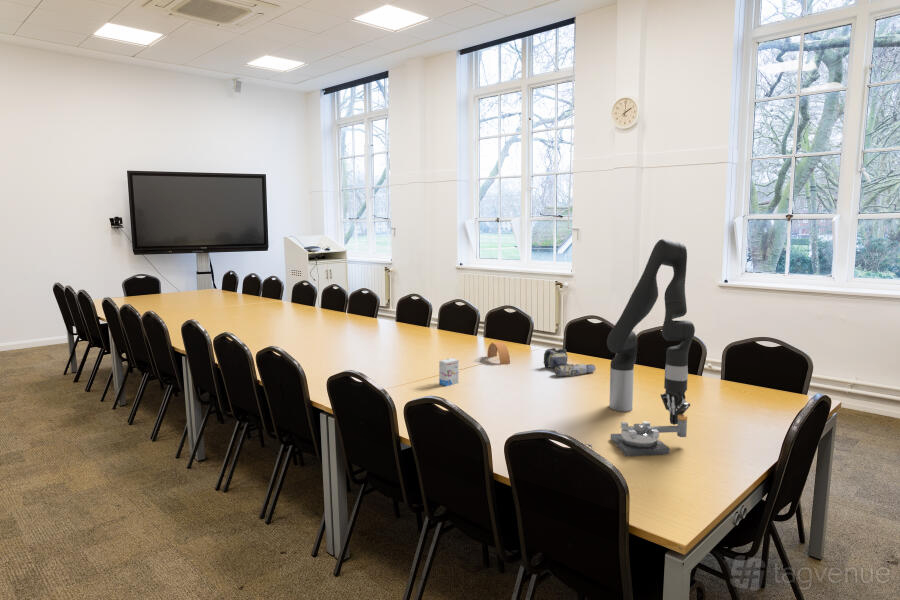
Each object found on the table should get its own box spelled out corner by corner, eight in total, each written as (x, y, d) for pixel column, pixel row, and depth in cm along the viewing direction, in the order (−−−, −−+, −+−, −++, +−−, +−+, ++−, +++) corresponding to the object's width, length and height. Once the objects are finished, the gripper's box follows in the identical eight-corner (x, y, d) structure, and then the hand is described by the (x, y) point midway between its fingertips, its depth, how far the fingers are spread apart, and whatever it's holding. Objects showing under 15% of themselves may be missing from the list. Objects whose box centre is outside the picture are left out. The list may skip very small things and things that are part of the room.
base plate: (610, 439, 208) (610, 433, 208) (651, 437, 209) (651, 432, 209) (625, 456, 193) (625, 450, 193) (669, 454, 194) (669, 448, 194)
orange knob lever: (678, 432, 207) (679, 409, 206) (694, 445, 195) (695, 421, 194) (616, 434, 206) (616, 411, 205) (628, 448, 194) (628, 423, 193)
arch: (500, 365, 315) (500, 347, 313) (487, 356, 334) (487, 339, 332) (510, 364, 316) (510, 346, 315) (496, 355, 335) (496, 338, 334)
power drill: (536, 368, 307) (537, 348, 305) (572, 364, 315) (573, 344, 314) (560, 379, 286) (560, 357, 285) (597, 374, 295) (598, 353, 293)
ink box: (445, 386, 276) (445, 362, 274) (439, 384, 279) (438, 360, 278) (459, 383, 281) (458, 359, 280) (452, 380, 285) (451, 357, 283)
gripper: (654, 372, 208) (652, 419, 210) (680, 383, 195) (678, 431, 198) (671, 370, 210) (669, 416, 213) (698, 380, 198) (695, 428, 200)
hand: (673, 423), depth 205 cm, fingers closed
